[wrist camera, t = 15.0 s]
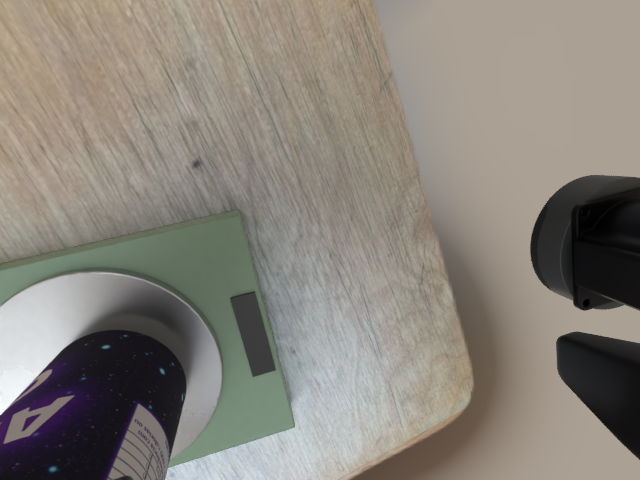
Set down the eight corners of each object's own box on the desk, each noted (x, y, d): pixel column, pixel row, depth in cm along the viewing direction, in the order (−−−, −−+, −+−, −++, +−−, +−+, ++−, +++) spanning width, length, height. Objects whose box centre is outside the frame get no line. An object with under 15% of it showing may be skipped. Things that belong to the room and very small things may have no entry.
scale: (239, 208, 19) (238, 216, 16) (291, 404, 22) (297, 435, 19) (-63, 278, 17) (-117, 299, 14) (39, 482, 20) (10, 528, 17)
